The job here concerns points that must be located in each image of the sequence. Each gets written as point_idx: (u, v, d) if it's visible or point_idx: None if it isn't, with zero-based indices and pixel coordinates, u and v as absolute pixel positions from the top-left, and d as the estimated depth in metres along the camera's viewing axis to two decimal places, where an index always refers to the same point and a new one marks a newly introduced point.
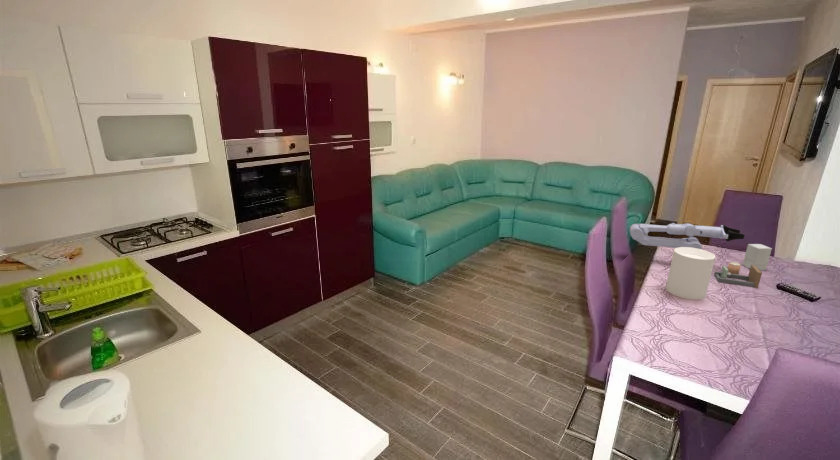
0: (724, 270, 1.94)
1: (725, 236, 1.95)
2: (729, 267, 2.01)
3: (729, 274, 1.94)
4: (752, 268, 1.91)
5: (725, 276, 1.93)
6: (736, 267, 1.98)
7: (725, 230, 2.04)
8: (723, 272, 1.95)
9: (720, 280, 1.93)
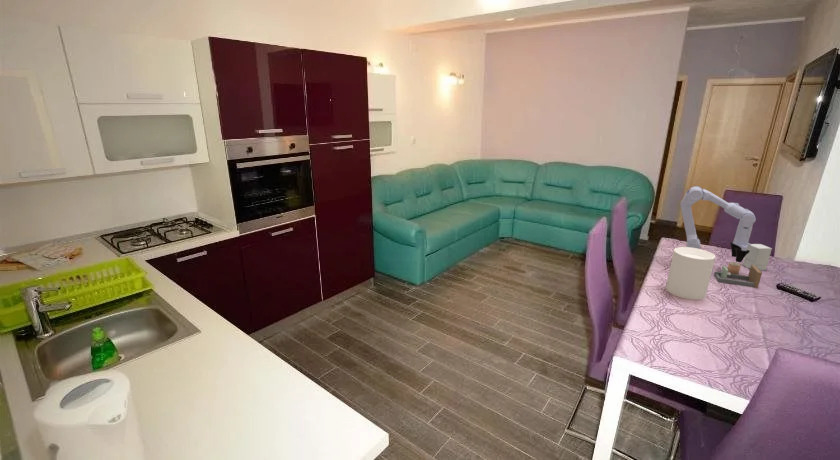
0: (724, 270, 1.94)
1: (745, 248, 1.91)
2: (729, 267, 2.01)
3: (729, 274, 1.94)
4: (752, 268, 1.91)
5: (725, 276, 1.93)
6: (736, 267, 1.98)
7: (738, 246, 2.01)
8: (723, 272, 1.95)
9: (720, 280, 1.93)
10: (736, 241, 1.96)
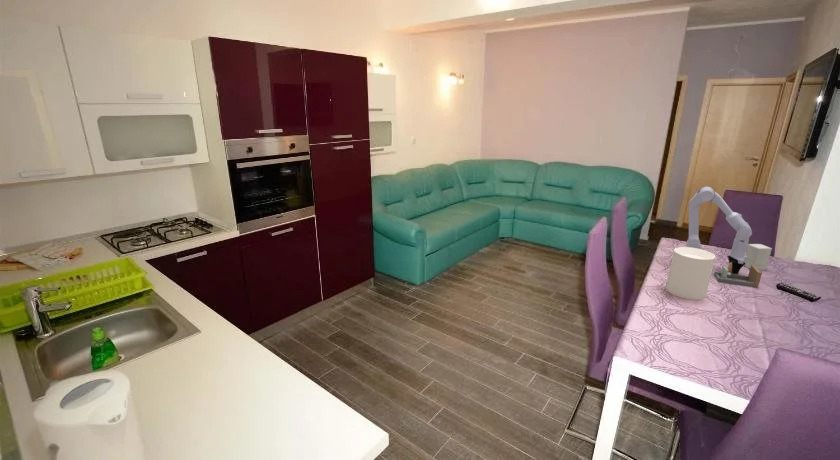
0: (724, 270, 1.94)
1: (741, 261, 1.93)
2: (729, 267, 2.01)
3: (729, 274, 1.94)
4: (752, 268, 1.91)
5: (725, 276, 1.93)
6: None
7: (735, 259, 2.02)
8: (723, 272, 1.95)
9: (720, 280, 1.93)
10: (733, 254, 1.98)
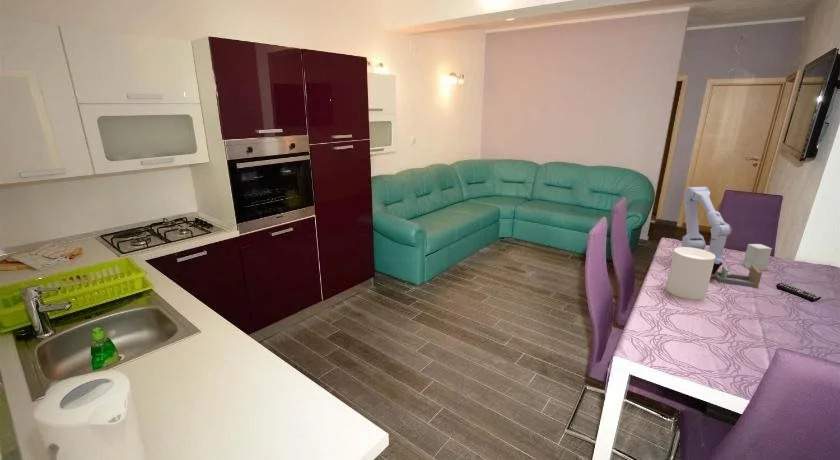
0: (724, 270, 1.94)
1: (718, 261, 1.89)
2: None
3: (729, 274, 1.94)
4: (752, 268, 1.91)
5: (725, 276, 1.93)
6: None
7: None
8: (723, 272, 1.95)
9: (720, 280, 1.93)
10: None
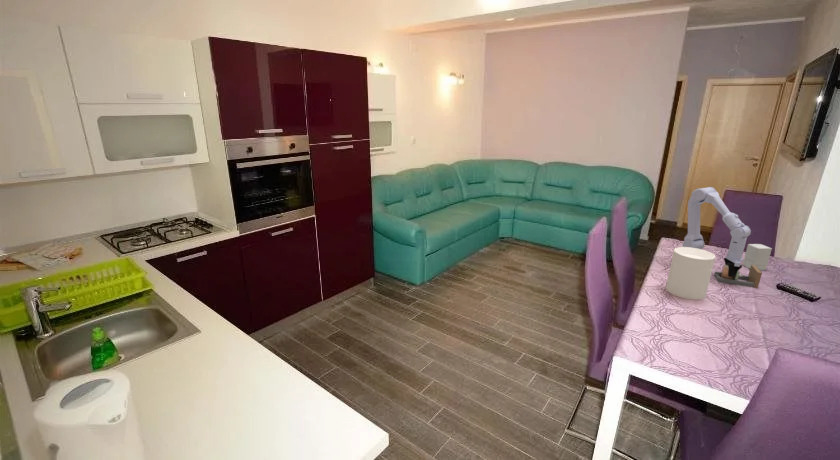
0: None
1: (738, 264, 1.85)
2: (724, 270, 1.94)
3: (740, 276, 1.92)
4: (752, 268, 1.91)
5: (736, 278, 1.91)
6: None
7: (732, 261, 1.94)
8: None
9: (720, 280, 1.93)
10: (729, 256, 1.91)
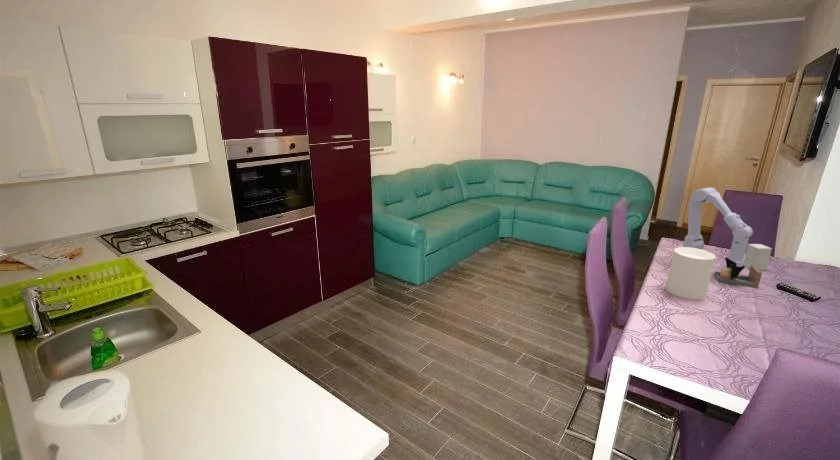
0: None
1: (740, 264, 1.85)
2: (722, 273, 1.94)
3: (739, 275, 1.92)
4: (752, 268, 1.91)
5: None
6: (729, 272, 1.92)
7: (733, 261, 1.95)
8: None
9: (720, 280, 1.93)
10: (731, 256, 1.90)
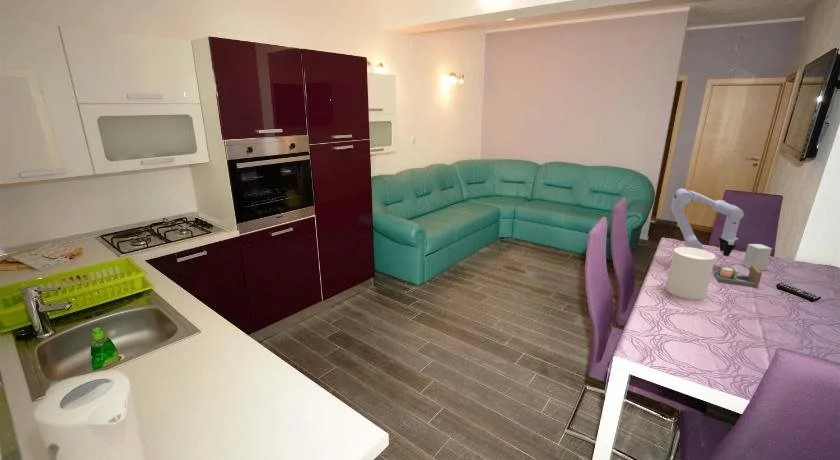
0: (734, 271, 1.92)
1: (731, 242, 1.96)
2: (722, 273, 1.94)
3: (739, 275, 1.92)
4: (752, 268, 1.91)
5: (735, 277, 1.91)
6: (729, 272, 1.92)
7: (726, 240, 2.06)
8: (733, 273, 1.93)
9: (720, 280, 1.93)
10: (724, 236, 2.01)
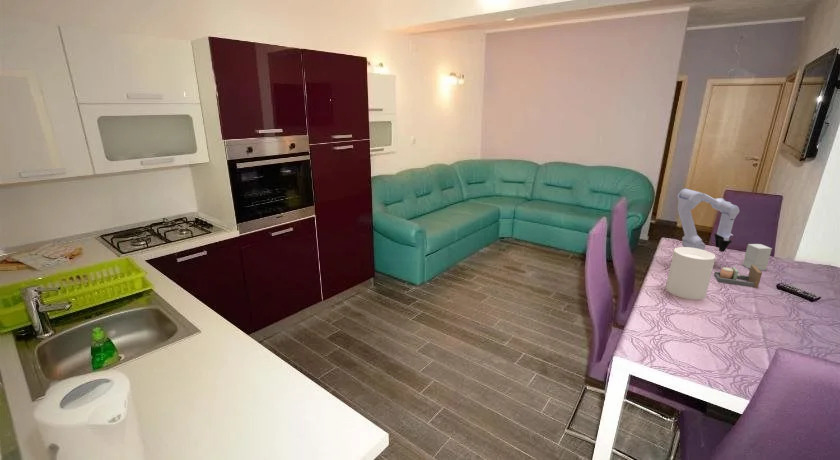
0: (734, 271, 1.92)
1: (727, 238, 2.02)
2: (722, 273, 1.94)
3: (739, 275, 1.92)
4: (752, 268, 1.91)
5: (735, 277, 1.91)
6: (729, 272, 1.92)
7: (721, 236, 2.12)
8: (733, 273, 1.93)
9: (720, 280, 1.93)
10: (719, 232, 2.07)
